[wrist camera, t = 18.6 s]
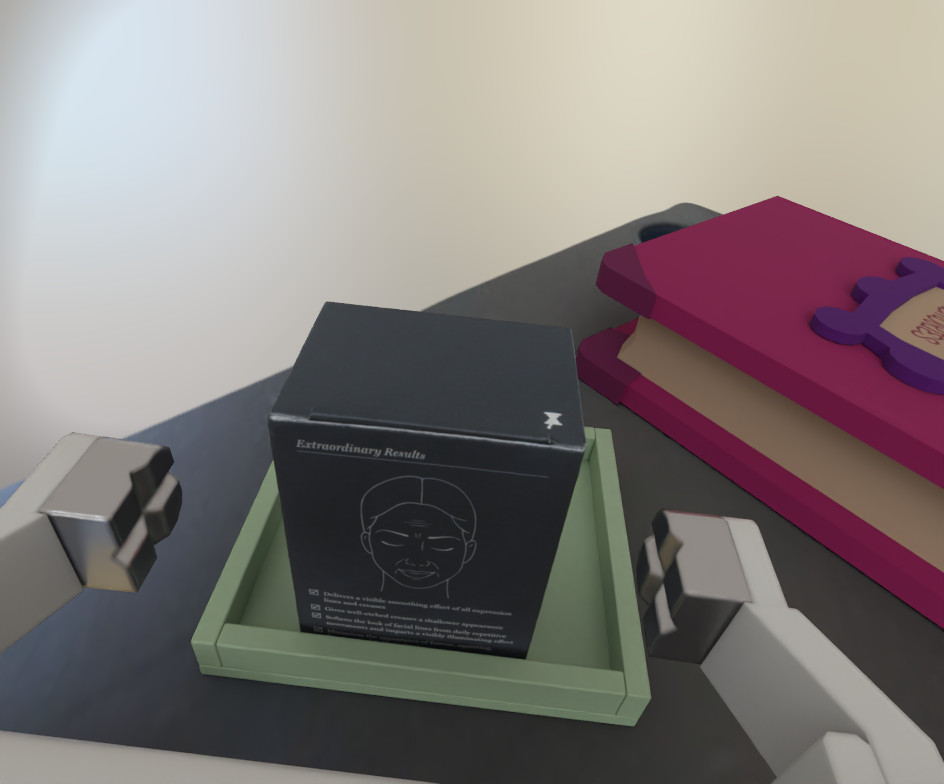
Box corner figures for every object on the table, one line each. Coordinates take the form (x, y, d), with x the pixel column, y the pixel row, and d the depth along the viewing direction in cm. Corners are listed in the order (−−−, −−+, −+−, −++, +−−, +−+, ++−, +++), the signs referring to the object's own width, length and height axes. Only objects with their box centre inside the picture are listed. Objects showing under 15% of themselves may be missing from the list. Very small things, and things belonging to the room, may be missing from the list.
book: (748, 278, 48) (790, 181, 43) (1225, 511, 32) (1372, 399, 28) (563, 367, 36) (591, 247, 32) (1164, 792, 21) (1398, 684, 16)
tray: (200, 674, 21) (189, 641, 19) (306, 423, 31) (303, 390, 29) (634, 727, 21) (652, 698, 19) (601, 460, 31) (611, 429, 29)
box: (524, 538, 26) (577, 323, 19) (524, 672, 21) (593, 453, 15) (335, 516, 26) (322, 292, 19) (296, 646, 21) (261, 413, 15)
